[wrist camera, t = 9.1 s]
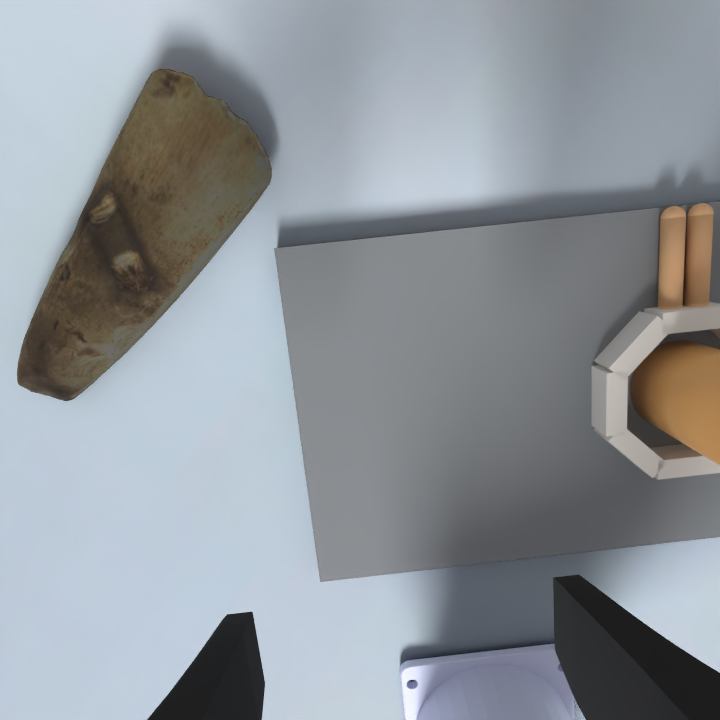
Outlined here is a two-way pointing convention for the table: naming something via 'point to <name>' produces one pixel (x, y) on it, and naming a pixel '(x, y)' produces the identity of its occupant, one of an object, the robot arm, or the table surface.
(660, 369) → the stepped orange capsule
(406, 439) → the mat
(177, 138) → the stone
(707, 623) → the table surface
